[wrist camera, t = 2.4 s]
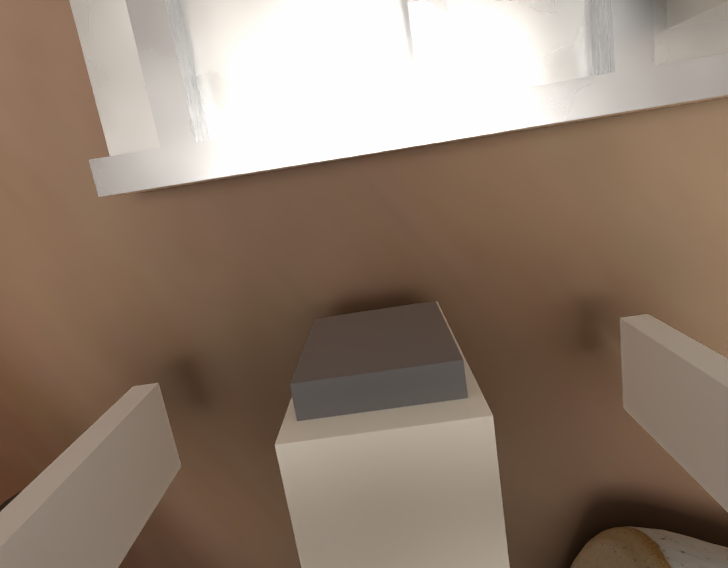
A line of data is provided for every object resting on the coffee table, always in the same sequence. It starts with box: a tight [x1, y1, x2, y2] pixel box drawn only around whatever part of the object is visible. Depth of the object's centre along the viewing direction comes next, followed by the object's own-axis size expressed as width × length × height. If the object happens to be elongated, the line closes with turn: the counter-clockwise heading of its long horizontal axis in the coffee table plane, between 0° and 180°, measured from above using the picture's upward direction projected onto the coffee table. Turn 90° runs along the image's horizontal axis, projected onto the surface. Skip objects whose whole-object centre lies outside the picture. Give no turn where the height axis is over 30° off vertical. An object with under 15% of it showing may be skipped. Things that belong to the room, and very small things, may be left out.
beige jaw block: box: [275, 301, 510, 568], centre depth 13 cm, size 4×5×8 cm
